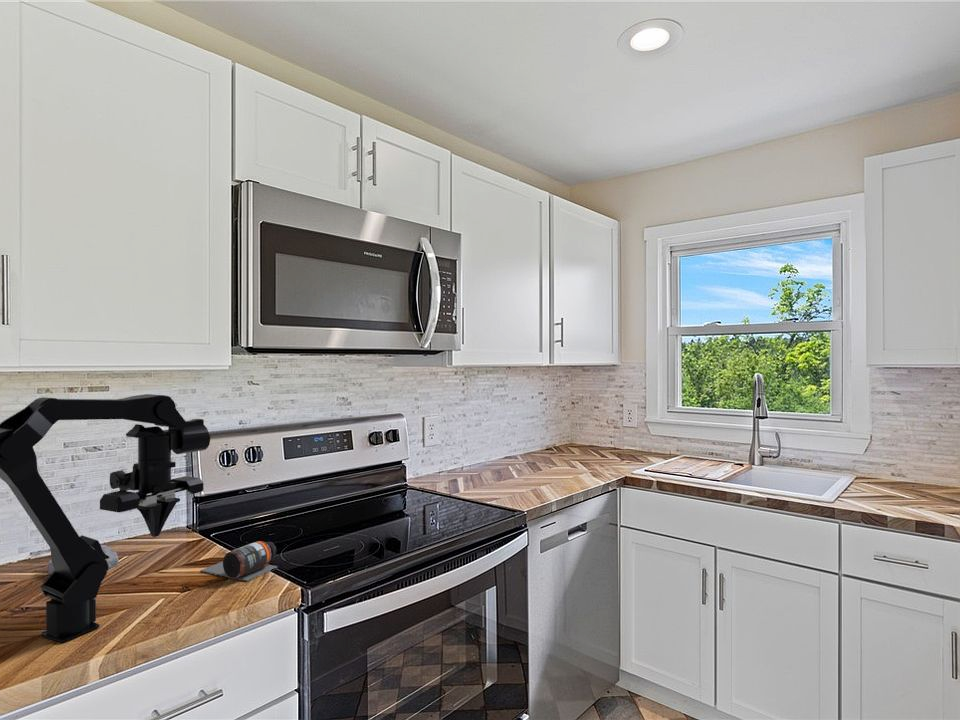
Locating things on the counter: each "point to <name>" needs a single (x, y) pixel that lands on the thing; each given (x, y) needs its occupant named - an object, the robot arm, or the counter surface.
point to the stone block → (111, 560)
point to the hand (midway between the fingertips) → (155, 536)
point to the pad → (219, 570)
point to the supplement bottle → (248, 558)
